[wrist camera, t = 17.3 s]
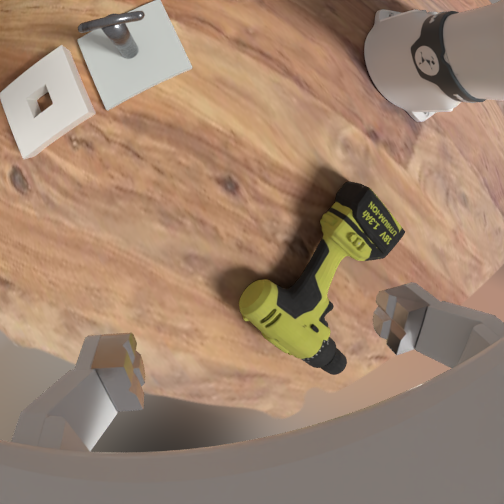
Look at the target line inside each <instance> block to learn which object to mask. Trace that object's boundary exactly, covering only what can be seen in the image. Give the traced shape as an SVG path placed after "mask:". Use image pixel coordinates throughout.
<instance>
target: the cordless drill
mask: <svg viewBox="0 0 504 504" xmlns="http://www.w3.org/2000/svg"><path fill="white" fill-rule="evenodd" d="M320 224H321V226H322V232H323V235H324V236H323V238H322V240H321V241H320V243H319V245H318V246H317V248H316V250H315V252H314V254H313V256H312V258H311V260H310V262H309V263H308V265H307V267H306V268H305V270H304V272H303V273H302V275H301V277H300V278H299V279H298V280H297V281H296V283H295V284H294V285H293V286H292V287H290V288H288V289H285V288H282V287H280V286H278V285H276V284H274V283H272V282H271V281H269V280H267V279H264V280H257V281H255V282H253V283H252V284H250V285H249V286H248V287H247V288H246V289H245V291H244V292H243V294H242V295H241V297H240V301H239V308H240V312H241V314H242V316H243V319H244V320H245V321H250V322H251V323H252V324H253V325H254V326H255V327H257V328H258V329H259V330H260V331H261V332H262V335H263V337H264V338H265V339H267V340H268V341H269V342H271V343H272V344H273V345H275V346H276V347H277V348H279V349H280V350H281V351H283V352H285V353H288V354H289V355H293V356H295V357H296V358H300V359H302V360H303V361H305V362H306V363H308V364H309V365H311V366H313V367H315V368H320V367H321V368H322V369H323V370H324V371H326V372H328V373H330V374H333V375H335V374H339V373H341V372H342V371H343V370H344V369H345V367H346V364H347V360H346V357H345V356H344V355H343V354H342V353H341V352H340V351H339V350H338V349H337V348H336V344H335V342H334V341H333V340H332V339H331V338H330V337H329V336H330V328H329V327H328V323H327V322H326V321H325V319H324V317H325V315H326V314H327V313H328V312H329V311H331V310H332V309H333V304H332V303H331V302H330V301H329V300H328V298H327V293H328V289H329V286H330V284H331V281H332V279H333V276H334V274H335V271H336V269H337V267H338V265H339V263H340V262H341V260H342V259H343V258H344V257H346V256H350V257H351V258H354V259H355V260H359V261H368V260H376V259H382V258H385V257H386V256H387V255H388V254H389V252H390V251H391V250H392V249H393V248H394V246H395V245H396V244H397V243H398V242H399V240H400V239H401V238H402V236H403V235H404V233H405V231H404V230H403V228H402V227H401V226H400V224H399V223H398V222H397V221H396V219H395V218H394V217H393V215H392V214H391V213H390V212H389V210H388V209H387V208H386V207H385V205H384V204H383V203H382V202H381V201H380V199H379V198H378V197H377V196H376V194H375V193H374V192H373V191H372V190H371V189H370V188H368V187H366V186H364V185H362V184H359V183H355V182H346V183H345V184H344V185H343V187H342V188H341V189H340V190H339V192H338V193H337V194H336V201H335V203H334V204H333V206H332V207H331V208H330V209H329V211H328V212H327V213H325V214H323V216H322V219H321V220H320Z"/></svg>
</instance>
